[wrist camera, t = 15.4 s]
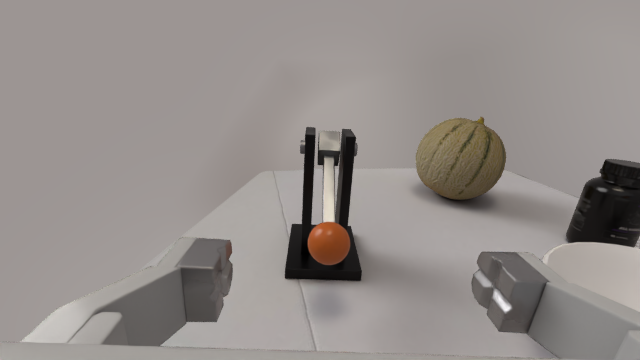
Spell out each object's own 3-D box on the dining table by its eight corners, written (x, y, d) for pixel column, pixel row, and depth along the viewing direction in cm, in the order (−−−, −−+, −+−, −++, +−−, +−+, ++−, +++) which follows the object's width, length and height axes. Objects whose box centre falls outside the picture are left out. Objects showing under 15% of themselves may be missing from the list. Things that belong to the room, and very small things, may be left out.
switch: (348, 272, 26) (354, 255, 23) (306, 270, 26) (307, 253, 23) (343, 151, 34) (346, 127, 32) (311, 149, 34) (312, 125, 31)
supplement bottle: (624, 267, 37) (666, 175, 33) (558, 242, 42) (587, 160, 38) (634, 251, 41) (673, 167, 37) (572, 230, 46) (601, 154, 42)
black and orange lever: (360, 280, 32) (376, 143, 27) (284, 278, 31) (287, 139, 27) (350, 233, 41) (360, 126, 36) (291, 231, 41) (294, 122, 36)
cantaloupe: (394, 187, 60) (405, 111, 55) (446, 180, 66) (460, 111, 61) (455, 218, 48) (476, 123, 43) (512, 205, 54) (536, 122, 49)
